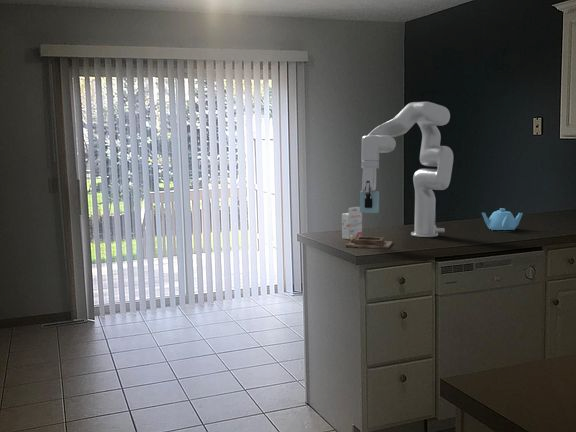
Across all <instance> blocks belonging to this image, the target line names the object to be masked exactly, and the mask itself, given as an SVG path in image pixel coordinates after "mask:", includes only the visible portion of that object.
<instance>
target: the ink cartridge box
mask: <svg viewBox="0 0 576 432" xmlns="http://www.w3.org/2000/svg"><path fill="white" fill-rule="evenodd" d="M347 210H348V212H345V213H341V239H345V240H350V236H351V235H354V240H355V239H356V238H357V237H358V236H362V237H363V213H360V206H353V207H348V209H347Z"/></svg>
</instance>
